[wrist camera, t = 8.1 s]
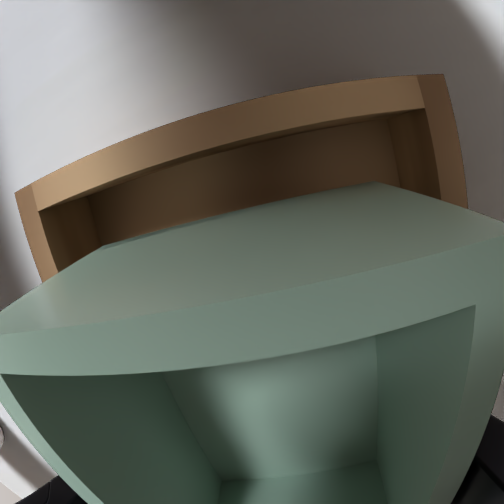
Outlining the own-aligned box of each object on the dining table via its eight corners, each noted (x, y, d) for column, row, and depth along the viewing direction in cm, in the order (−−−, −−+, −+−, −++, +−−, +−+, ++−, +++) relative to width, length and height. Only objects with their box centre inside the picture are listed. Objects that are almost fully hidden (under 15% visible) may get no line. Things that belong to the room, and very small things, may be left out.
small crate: (373, 180, 7) (521, 229, 2) (387, 451, 10) (415, 556, 5) (103, 245, 8) (-36, 338, 3) (214, 476, 10) (194, 578, 6)
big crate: (393, 96, 9) (443, 74, 5) (415, 419, 13) (436, 470, 9) (76, 179, 10) (14, 192, 7) (195, 456, 14) (183, 506, 11)
